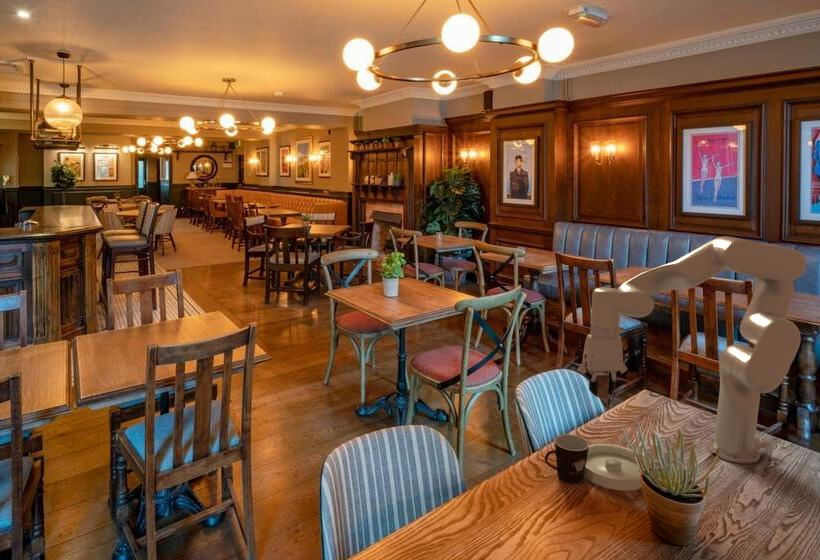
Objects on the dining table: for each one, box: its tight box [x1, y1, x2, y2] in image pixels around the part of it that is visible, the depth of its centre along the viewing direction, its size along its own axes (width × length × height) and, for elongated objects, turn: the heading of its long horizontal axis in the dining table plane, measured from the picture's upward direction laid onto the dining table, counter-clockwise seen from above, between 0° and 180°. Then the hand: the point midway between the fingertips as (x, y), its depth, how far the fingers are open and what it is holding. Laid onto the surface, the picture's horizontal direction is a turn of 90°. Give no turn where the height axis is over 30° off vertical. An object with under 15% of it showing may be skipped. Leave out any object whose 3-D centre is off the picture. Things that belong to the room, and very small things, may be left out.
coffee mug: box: [544, 433, 590, 485], centre depth 133 cm, size 12×9×10 cm
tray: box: [583, 443, 642, 492], centre depth 136 cm, size 18×18×3 cm
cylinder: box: [593, 372, 610, 399], centre depth 145 cm, size 4×4×6 cm
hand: (601, 392), depth 145 cm, fingers closed on cylinder, 4 cm apart
